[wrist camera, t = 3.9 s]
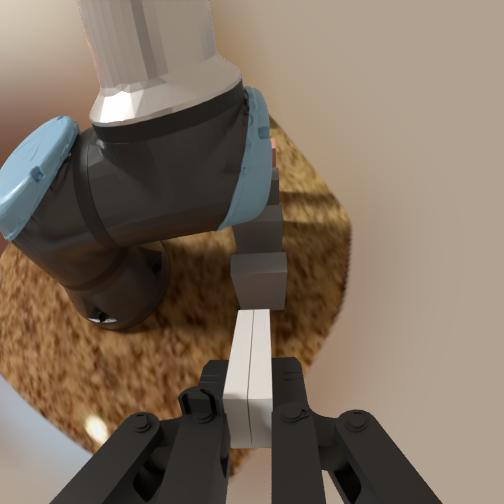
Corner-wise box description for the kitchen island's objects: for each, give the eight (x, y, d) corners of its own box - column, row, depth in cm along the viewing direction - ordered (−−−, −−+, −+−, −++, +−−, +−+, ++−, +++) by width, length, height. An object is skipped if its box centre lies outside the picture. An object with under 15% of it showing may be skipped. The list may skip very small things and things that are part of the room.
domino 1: (281, 268, 37) (283, 220, 28) (241, 270, 37) (231, 223, 28) (280, 254, 38) (281, 204, 29) (241, 256, 38) (231, 207, 29)
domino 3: (278, 232, 40) (279, 179, 31) (241, 233, 40) (233, 182, 31) (277, 220, 41) (277, 167, 32) (241, 221, 41) (233, 170, 32)
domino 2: (284, 309, 34) (287, 271, 25) (241, 311, 34) (230, 274, 26) (283, 294, 35) (285, 251, 26) (241, 296, 35) (230, 254, 27)
